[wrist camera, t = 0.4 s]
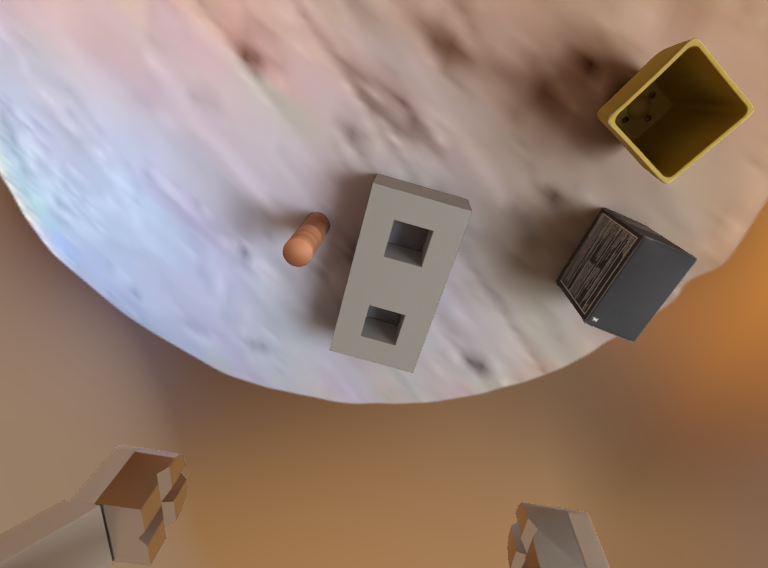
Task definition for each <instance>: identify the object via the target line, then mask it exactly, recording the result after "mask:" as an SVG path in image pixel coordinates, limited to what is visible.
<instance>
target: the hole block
mask: <svg viewBox="0 0 768 568" xmlns="http://www.w3.org/2000/svg"><path fill="white" fill-rule="evenodd" d="M471 214H472V209H471V206H470V204H469V201H468V200H467V199H463V198H460V197H457V196H453V195H450V194H446V193H443V192H439V191H436V190H432V189H429V188H426V187H422V186H419V185H415V184H412V183H408V182H405V181H401V180H398V179H394V178H391V177H388V176H384V175H381V174H377V176H376V178H375V180H374V182H373V185H372V189H371V193H370V197H369V200H368V204H367V208H366V212H365V216H364V220H363V224H362V227H361V231H360V235H359V239H358V243H357V247H356V250H355V254H354V258H353V262H352V266H351V270H350V274H349V277H348V281H347V285H346V289H345V293H344V297H343V301H342V304H341V308H340V312H339V316H338V320H337V324H336V328H335V331H334V335H333V339H332V343H331V347H330V350H331V351H334V352H338V353H342V354H345V355H349V356H353V357H356V358H360V359H364V360H367V361H371V362H375V363H378V364H382V365H386V366H389V367H393V368H397V369H400V370H404V371H408V372H411V373H413V372H414V369H415V366H416V363H417V361H418V358H419V355H420V353H421V350H422V347H423V344H424V342H425V339H426V336H427V334H428V331H429V328H430V325H431V323H432V320H433V317H434V314H435V312H436V309H437V306H438V304H439V301H440V298H441V295H442V293H443V290H444V287H445V284H446V282H447V279H448V276H449V274H450V271H451V268H452V265H453V263H454V260H455V257H456V255H457V252H458V249H459V246H460V244H461V241H462V238H463V235H464V233H465V230H466V227H467V225H468V222H469V219H470V216H471ZM394 220H397V221H400V222H404V223H407V224H411V225H414V226H418V227H421V228H425V229H428V230H429V231H428V235H427V238H426V241H425V244H424V247H423V250H422V252H421V251H417V250H414V249H410V248H407V247H403V246H399V245H396V244H392V243H389V242H388V240H389V236H390V233H391V229H392V226H393V223H394ZM369 305H371V306H374V307H378V308H381V309H385V310H389V311H392V312H396V313H399V314H401V316H400V319H399V322H398V325H394V324H391V323H387V322H383V321H380V320H376V319H373V318H369V317H366V315H367V312H368V308H369Z"/></svg>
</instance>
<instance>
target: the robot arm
mask: <svg viewBox="0 0 768 568" xmlns="http://www.w3.org/2000/svg"><path fill="white" fill-rule="evenodd" d="M184 467H185V460H184V455H181V454H176V453H170V452H164V451H158V450H152V449H146V448H139V447H133V446H127V445H120V446H118V447H116V448H115V449H114V450H112V452H111V453H110V454H109V455H108V457H107V458H106V459H105V460H104V461H103V462H102V464H101V465H100V466H99V467H98V468H97V469H96V471H95V472H94V473H93V474H92V475H91V476H90V478H89V479H88V480H87V482H85V484H84V485H83V486H82V487H81V488H80V489H79V491H78V492H77V493H76V494H75V496H74V497H73V498H72V499H71V500H70V501H68V500H63V501H61V502H59V503H57V504H55V505H53V506H52V507H50V508H48V509H46V510H44V511H42V512H41V513H39V514H37V515H35V516H33V517H31V518H30V519H28V520H26V521H24V522H22V523H20V524H18V525H16V526H15V527H13V528H11V529H9V530H7V531H5V532H3V533H1V534H0V568H108V567H109V566H111V565H112V564H113V561H115V562H124V563H132V564H141V565H149V566H151V564H152V562H153V560H154V559H155V557H156V555H157V553H158V551H159V550H160V548H161V546H162V545H163V543H164V541H165V539H166V534H165V528H166V527H167V526H169V525H170V524H172V523H173V522H174V521H176V520H177V518H178V516H179V514H180V512H181V510H182V508H183V505H184V502H185V499H186V495H187V479H186V478H185V476H183V474H182V473H181V472H182V470H183V469H184ZM516 517H517V522H516V523H515V524H513V525H512V526H511V529H510V532H509V536H508V547H507V549H508V560H509V566H510V568H610V567H609V565H608V562H607V560H606V557H605V555H604V552H603V549H602V547H601V544H600V542H599V540H598V537H597V534H596V532H595V529H594V527H593V524H592V521H591V519H590V517H589V515H588V514H587V513H586V511H579V510H573V509H566V508H561V507H554V506H546V505H537V504H530V503H522V502H521V503H520V504H519V505H518V508H517V510H516Z"/></svg>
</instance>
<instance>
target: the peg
mask: <svg viewBox="0 0 768 568" xmlns="http://www.w3.org/2000/svg"><path fill="white" fill-rule="evenodd" d="M329 228H330V222H329V220H328V218H327V217H326V216H325V215H324V214H322V213H318V212H315V213H312V214H310V215H309V216H308V217H307V218H306V220H305V221H304V222H303V223H302V225H301V226H300V227H299V228H298V229H297V231H296V232H295V233H294V234H293V235H292V237H291V238H290V239H289V240H288V242H287V243H286V244H285V245H284V247H283V256H284V258H285V260H286V261H287V262H288V263H289V264H291V265H293V266H296V267H302V266H305V265H306V264H308V263H309V261H310V260H311V258H312V257H313V255H314V253H315V252H316V250H317V248H318V247H319V245H320V244H321V242H322V240H323V239H324V237H325V235H326V234H327V232H328V231H329Z"/></svg>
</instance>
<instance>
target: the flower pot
mask: <svg viewBox="0 0 768 568" xmlns="http://www.w3.org/2000/svg"><path fill="white" fill-rule="evenodd" d="M651 92H653V93H654V97H653V98H650V97H649V94H650V93H651ZM753 112H754V107H753V105H752V103H751V102H750V101H749V100H748V99H747V97H746V96H745V95H744V94H743V93H742V91H741V90H740V89H739V88H738V87H737V85H736V84H735V83H734V82H733V81H732V80H731V78H730V77H729V76H728V75H727V73H726V72H725V71H724V70H723V68H722V67H721V66H720V65H719V63H718V62H717V61H716V59H715V58H714V57H713V56H712V54H711V53H710V52H709V50H708V49H707V48H706V47H705V45H704V44H703V43H702V42H701V41H700V40H698V39H696V38H693V39H691V40H688V41H685V42H682V43H679V44H677V45H674V46H671V47H669V48H666V49H664V50H663V51H661V52H659V53H658V54H657V55H655V56H654V57H653V58H652V59H651V60H650V61H649V62H648V63H647V64H646V65H645V66H644V67H643V68H642V69H641V70H640V71H639V72H638V73H637V74H636V75H635V76H634V77H633V78H632V79H631V80H629V81H628V82H627V83H626V84H625V85H624V86H623V87H622V88H621V89H620V90H619V91H618V92H617V93H616V94H615V95H614V96H613V97H612V98H611V99H610V100H609V101H607V102H606V103H605V104H604V105H603V106H602V107H601V108H600V109H599V110H598V112H597V117H598V119H599V120H600V121H601V122H602V123H603V124H604V125H605V126H606V127H607V128H608V129H609V130H610V131H611V133H612V134H613V135H614V136H615V137H616V138H617V139H618V140H619V141H620V142H621V143H622V144H623V145H624V146H625V147H626V149H627V150H628V151H629V152H630V153H631V154H632V155H633V156H634V157H635V159H636V160H637V161H638V162H639V163H640V164H641V165H642V166H643V167H644V168H645V169H646V170H647V171H649V172H650V173H651V174H653V175H654V176H655V177H656V178H658V179H659V180H660V181H661V182H663V183H665V184H667V183H669V182H671V181H673V180H674V179H675V178H676V177H678V176H679V175H680V174H681V173H683V172H684V171H685V170H686V169H687V168H689V167H690V166H691V165H692V164H693V163H694V162H696V161H697V160H698V159H699V158H700V157H702V156H703V155H704V154H705V153H707V152H708V151H709V150H710V149H711V148H712V147H713V146H715V145H716V144H717V143H718V142H720V141H721V140H722V139H723V138H724V137H726V136H727V135H728V134H729V133H730V132H732V131H733V130H734V129H735V128H737V127H738V126H739V125H740V124H741V123H743V122H744V121H745V120H746V119H747V118H748V117H749V116H750V115H751V114H752V113H753ZM646 116H650V117H651V118H650V120H649V121H645V118H646ZM624 117H627V118H628V120H627V122H625V123H623V122H622V120H623V118H624Z"/></svg>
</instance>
